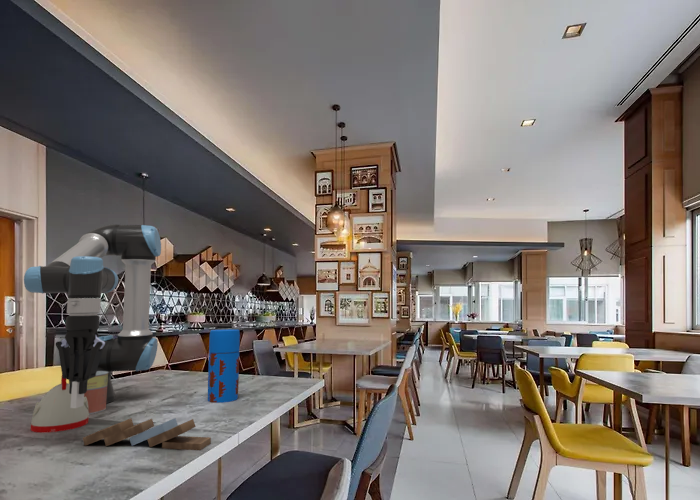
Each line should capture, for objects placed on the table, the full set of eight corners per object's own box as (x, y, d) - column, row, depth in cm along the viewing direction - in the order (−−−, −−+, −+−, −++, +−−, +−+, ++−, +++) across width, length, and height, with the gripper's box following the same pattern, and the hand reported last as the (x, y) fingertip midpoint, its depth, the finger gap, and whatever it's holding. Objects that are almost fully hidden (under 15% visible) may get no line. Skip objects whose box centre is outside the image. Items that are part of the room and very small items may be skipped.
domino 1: (82, 437, 104) (119, 423, 103) (96, 431, 109) (131, 418, 108) (84, 445, 103) (121, 431, 103) (98, 439, 108) (133, 425, 108)
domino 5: (162, 442, 101) (200, 443, 100) (174, 435, 106) (210, 437, 105) (161, 450, 101) (200, 452, 99) (173, 444, 106) (210, 445, 104)
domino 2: (103, 438, 103) (141, 423, 103) (116, 432, 108) (152, 418, 108) (106, 446, 103) (143, 431, 103) (118, 440, 108) (154, 426, 108)
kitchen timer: (86, 416, 131) (89, 367, 133) (90, 426, 120) (94, 372, 122) (30, 424, 123) (35, 372, 125) (30, 435, 112) (35, 378, 114)
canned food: (58, 412, 136) (61, 374, 138) (93, 405, 146) (95, 370, 148) (78, 416, 131) (81, 377, 133) (113, 408, 141) (115, 372, 143)
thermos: (226, 395, 161) (228, 329, 165) (244, 398, 155) (245, 330, 158) (201, 400, 153) (204, 330, 156) (218, 404, 146) (220, 331, 150)
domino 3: (129, 437, 103) (162, 423, 102) (143, 431, 108) (175, 417, 107) (131, 445, 103) (164, 431, 101) (145, 439, 108) (177, 425, 106)
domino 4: (147, 439, 102) (180, 425, 100) (161, 432, 107) (193, 418, 105) (149, 447, 102) (183, 433, 100) (163, 440, 106) (195, 426, 104)
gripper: (49, 315, 108) (41, 410, 105) (96, 315, 107) (90, 411, 104) (71, 314, 115) (64, 402, 113) (115, 314, 114) (110, 403, 111)
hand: (76, 406), depth 108 cm, fingers closed
